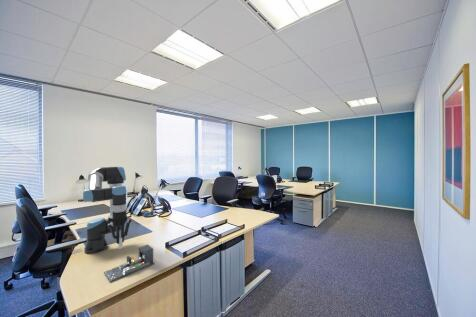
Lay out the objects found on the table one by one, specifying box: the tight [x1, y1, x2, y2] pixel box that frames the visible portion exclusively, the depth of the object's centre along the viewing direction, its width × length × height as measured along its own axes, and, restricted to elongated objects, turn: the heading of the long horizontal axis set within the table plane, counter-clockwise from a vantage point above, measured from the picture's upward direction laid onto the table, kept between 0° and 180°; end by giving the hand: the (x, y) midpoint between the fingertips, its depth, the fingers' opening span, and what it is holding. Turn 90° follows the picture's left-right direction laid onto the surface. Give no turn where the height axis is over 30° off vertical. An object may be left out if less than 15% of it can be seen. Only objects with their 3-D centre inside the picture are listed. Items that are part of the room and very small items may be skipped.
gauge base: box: [103, 244, 156, 283], centre depth 128 cm, size 13×26×10 cm, turn 137°
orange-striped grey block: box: [126, 255, 143, 266], centre depth 131 cm, size 9×13×6 cm
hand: (120, 248), depth 124 cm, fingers closed
